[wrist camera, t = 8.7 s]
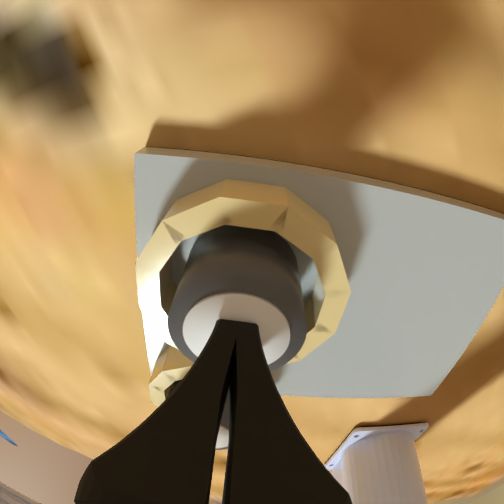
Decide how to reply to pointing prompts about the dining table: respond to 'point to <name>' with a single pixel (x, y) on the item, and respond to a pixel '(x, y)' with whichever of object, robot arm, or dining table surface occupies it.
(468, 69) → the dining table surface
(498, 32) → the dining table surface
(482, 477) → the dining table surface
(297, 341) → the cap
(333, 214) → the board
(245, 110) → the dining table surface
